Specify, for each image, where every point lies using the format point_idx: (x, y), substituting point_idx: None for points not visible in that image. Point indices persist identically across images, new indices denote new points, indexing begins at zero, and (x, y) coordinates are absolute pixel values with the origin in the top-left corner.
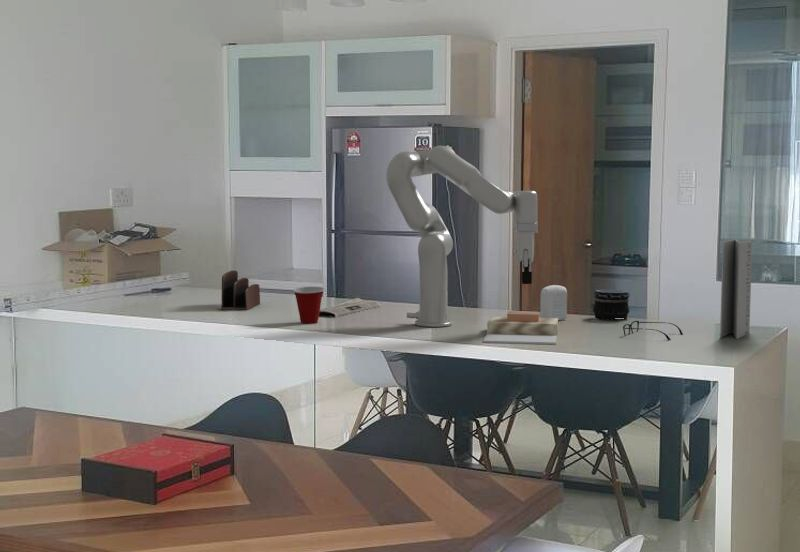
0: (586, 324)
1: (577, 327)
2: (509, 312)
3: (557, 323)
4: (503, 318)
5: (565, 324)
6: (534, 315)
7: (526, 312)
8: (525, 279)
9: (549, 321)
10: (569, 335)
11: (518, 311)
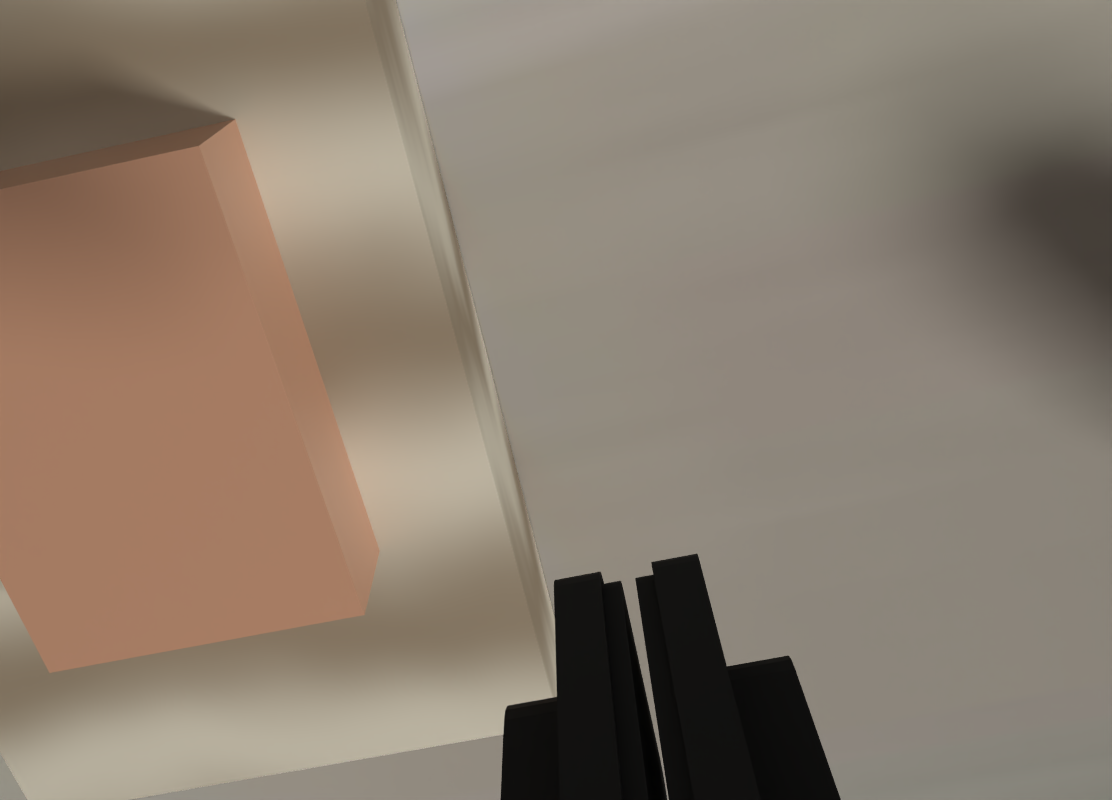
0: (1103, 771)
1: (851, 741)
2: (20, 215)
3: (166, 785)
4: (177, 38)
5: (1066, 598)
6: (31, 614)
7: (181, 471)
8: (510, 764)
9: (211, 703)
10: (254, 782)
11: (238, 324)
